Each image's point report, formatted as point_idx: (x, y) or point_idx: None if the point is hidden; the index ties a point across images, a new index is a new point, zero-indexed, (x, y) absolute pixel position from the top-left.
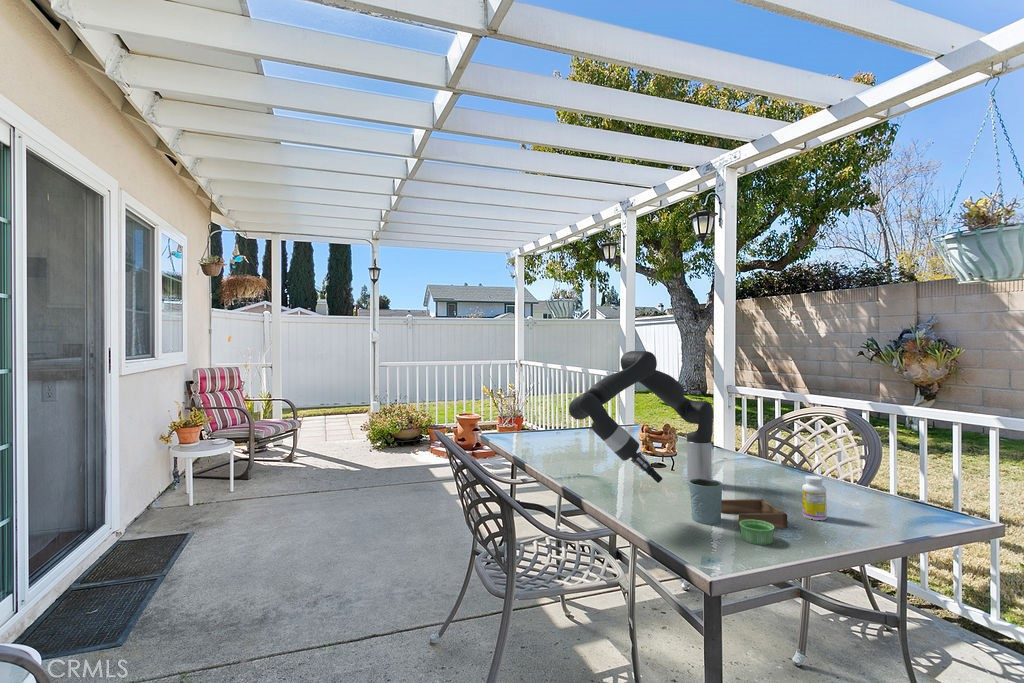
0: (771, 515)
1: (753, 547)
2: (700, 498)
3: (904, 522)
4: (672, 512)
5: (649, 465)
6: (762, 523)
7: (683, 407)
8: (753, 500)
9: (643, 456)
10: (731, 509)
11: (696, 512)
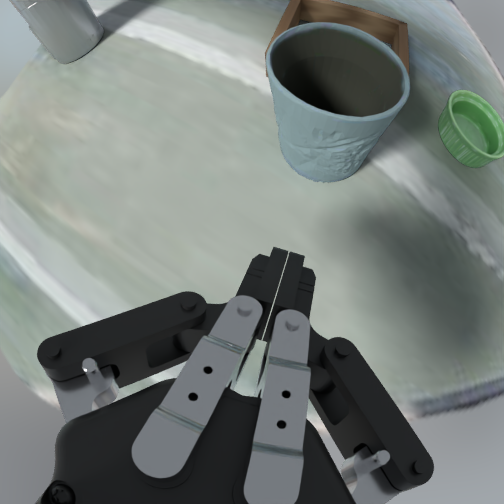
0: (407, 43)
1: (497, 180)
2: (373, 139)
3: None
4: (221, 198)
5: (410, 434)
6: (458, 96)
7: None
8: (297, 6)
9: (297, 478)
10: None
11: (341, 170)
